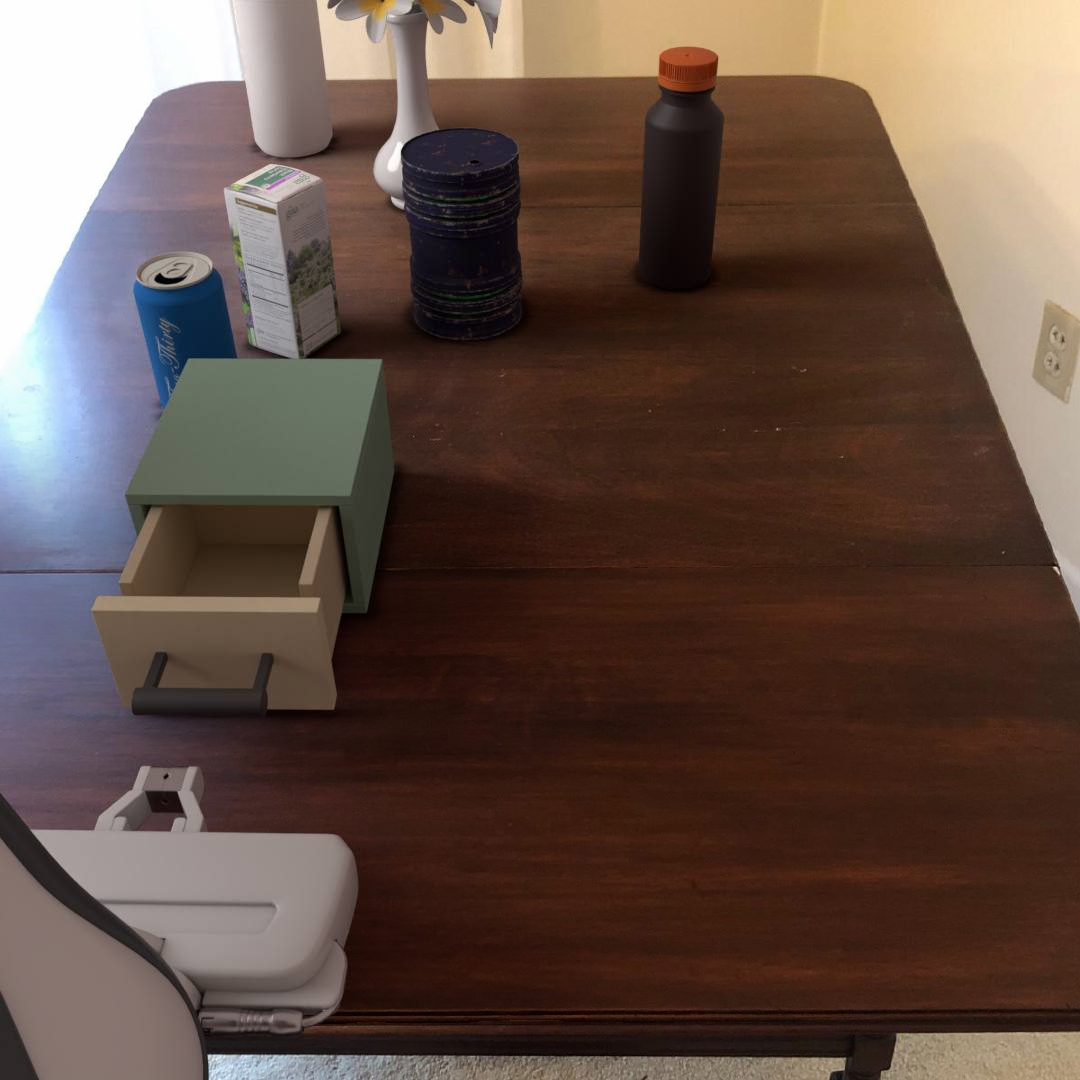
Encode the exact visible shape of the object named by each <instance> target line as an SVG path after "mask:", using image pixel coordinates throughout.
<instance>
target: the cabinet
mask: <svg viewBox="0 0 1080 1080" xmlns="http://www.w3.org/2000/svg"><path fill="white" fill-rule="evenodd" d="M384 369H385V368H384V359H383V358H304V359H291V358H237V359H188V361H187V363H186V365H185V367H184V369H183V371H182V373H181V375H180V378H179V380H178V382H177V384H176V386H175V388H174V390H173V393H172V395H171V397H170V399H169V401H168V403H167V405H166V407H165V410H164V409H163V411H162V414H161V416H160V418H159V420H158V422H157V425H156V426H155V429H154V430H153V433H152V434H151V438H149V439H150V440H149V442H148V444H147V446H146V448H145V450H144V452H143V455H142V456H141V459H140V461H139V462H138V465H137V467H136V469H135V471H134V474H133V476H132V478H131V480H130V482H129V484H128V487H127V489H126V491H125V492H124V497H125V501H126V503H127V507H128V511H129V514H130V517H131V521H132V524H133V528H134V531H135V536H136V539H137V538H138V536H139V534H140V531H141V529H142V527H143V525H144V522H145V520H146V518H147V515H148V513H149V511H150V508H151V506H152V505H304V506H339V509H340V516H341V522H342V529H343V536H344V543H345V550H346V557H347V564H348V570H349V581H348V586H347V590H346V595H345V599H344V604H343V609H342V613H341V614H367V612H368V609H369V603H370V598H371V593H372V588H373V584H374V578H375V572H376V567H377V563H378V557H379V551H380V547H381V541H382V536H383V531H384V525H385V520H386V516H387V510H388V505H389V500H390V496H391V495H390V494H391V490H392V484H393V479H394V474H395V463H394V461H395V460H394V453H393V444H392V434H391V423H390V418H389V417H390V416H389V415H390V414H389V407H388V406H389V405H388V397H387V396H388V395H387V388H386V387H387V386H386V378H385V370H384Z"/></svg>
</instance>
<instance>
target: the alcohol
mask: <svg viewBox="0 0 1080 1080" xmlns="http://www.w3.org/2000/svg"><path fill="white" fill-rule="evenodd" d="M231 3H232V8H233V9H232V10H233V15H234V20H235V21H234V22H235V26H236V32H237V33H236V34H237V37H238V38H237V40H238V46H239V52H240V58H241V63H242V64H241V65H242V69H243V75H244V82H245V88H246V94H247V95H246V96H247V100H248V106H249V112H250V118H251V119H250V121H251V125H252V131H253V137H254V142H255V144H256V145H257V146H258V147H259V148H260V150H261V151H262V152H263V153H264V154H266V155H269V156H272V157H277V158H301V157H307V156H312V155H314V154H318V153H320V152H322V151H324V150H326V149H327V148H328V146H329V145H330V142H331V140H332V138H333V135H334V131H333V124H332V115H331V109H330V108H331V107H330V99H329V91H328V82H327V75H326V64H325V59H324V58H325V57H324V51H323V50H324V49H323V42H322V32H321V25H320V24H321V23H320V16H319V7H318V0H231Z"/></svg>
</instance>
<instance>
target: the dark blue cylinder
mask: <svg viewBox="0 0 1080 1080" xmlns="http://www.w3.org/2000/svg"><path fill="white" fill-rule="evenodd" d="M519 151H520V150H519V145H518V142H517V141H516V140H514V139H513V138H512V137H511V136H509V135H507V134H504V133H502V132H499V131H496V130H491V129H487V128H479V127H447V128H441V129H440V128H439V130H435V131H430V132H427V133H423V134H420V135H418V136H416V137H414V138H412V139H410V140H409V141H407V142H406V143H405V144H404V145H403V146H402V148H401V163H402V166H403V167H402V176H403V180H402V190H403V198H404V200H405V204H404V210H403V211H404V214H405V219H406V221H407V222H408V225H409V238H410V247H411V249H410V250H411V254H410V256H409V273H410V275H409V285H410V292H411V296H412V302H413V305H414V306H413V318H414V321H415V323H416V324H417V325H418V327H419V328H420V329H421V330H423V331H424V332H425V333H428V334H430V335H432V336H434V337H438V338H441V339H447V340H453V341H476V340H484V339H488V338H492V337H496V336H499V335H501V334H504V333H506V332H507V331H509V330H512V329H513V328H514V327H515V326H516V325H517V324H518V323H519V321H521V318H522V313H523V305H522V293H523V292H522V290H523V286H524V283H523V281H524V279H523V277H524V276H523V271H522V255H521V252H520V250H519V233H518V232H519V231H518V227H519V226H518V225H519V224H518V218H519V217H520V214H521V208H522V207H521V206H522V202H521V191H522V189H521V188H522V187H521V176H520V164H519V159H520V152H519Z"/></svg>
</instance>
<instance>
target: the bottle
mask: <svg viewBox="0 0 1080 1080" xmlns="http://www.w3.org/2000/svg"><path fill="white" fill-rule="evenodd" d="M658 56H659V57H658V73H657V74H658V75H657V82H658V85H657V86H658V89H659V91H660V92H661V93H660V97H659V98H658V100H656V101H655V102H654V103H653V104H652V105H651V106H650V107H649V108H648V109H647V111H646V113H645V119H644V136H643V138H644V139H643V159H642V160H643V161H642V181H641V202H640V203H641V204H640V221H639V223H640V224H639V243H638V245H639V248H638V265H637V267H638V269H637V271H638V274H639V276H640V278H641V279H643V280H644V281H645V282H646V283H647V284H649V285H651V286H654V287H656V288H660V289H665V290H672V291H673V290H675V291H676V290H677V291H678V290H688V289H692V288H693V289H694V288H697V287H700V286H701V285H703V284H704V283H706V282H707V281H708V280H709V278H710V277H711V273H712V262H713V261H712V260H713V251H714V241H715V239H714V238H715V228H716V218H717V217H716V216H717V205H718V195H719V194H718V193H719V184H720V183H719V180H720V172H721V171H720V170H721V161H722V159H721V158H722V148H723V137H724V124H725V115H724V112H723V111H722V110H721V108H720V107H719V106H718V105H717V104H716V103H715V101H714V100H713V99H712V93H713V92H715V90H716V85H717V77H718V68H719V55H718V54H717V53H716V52H715V51H712V50H711V49H708V48H704V47H699V46H676V47H675V46H674V47H671V48H668V49H665V50H663V51H662V52H660V54H659V55H658Z"/></svg>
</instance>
